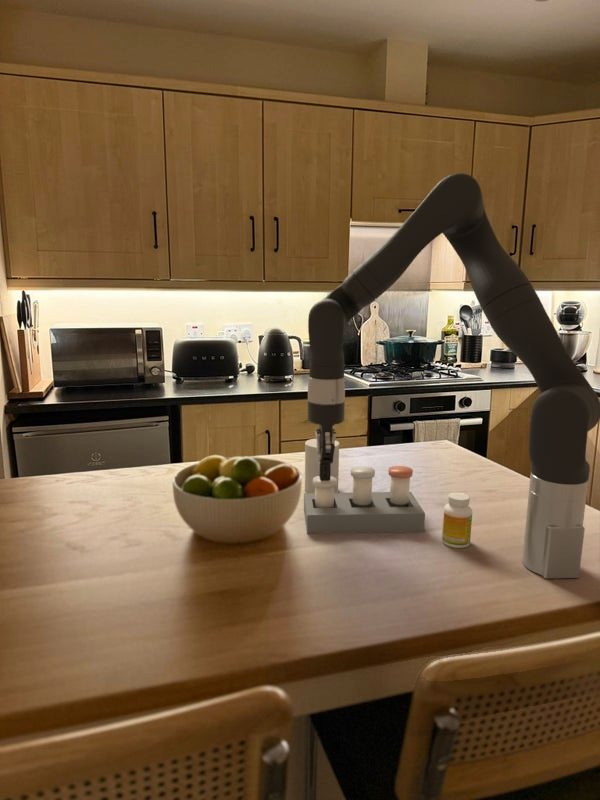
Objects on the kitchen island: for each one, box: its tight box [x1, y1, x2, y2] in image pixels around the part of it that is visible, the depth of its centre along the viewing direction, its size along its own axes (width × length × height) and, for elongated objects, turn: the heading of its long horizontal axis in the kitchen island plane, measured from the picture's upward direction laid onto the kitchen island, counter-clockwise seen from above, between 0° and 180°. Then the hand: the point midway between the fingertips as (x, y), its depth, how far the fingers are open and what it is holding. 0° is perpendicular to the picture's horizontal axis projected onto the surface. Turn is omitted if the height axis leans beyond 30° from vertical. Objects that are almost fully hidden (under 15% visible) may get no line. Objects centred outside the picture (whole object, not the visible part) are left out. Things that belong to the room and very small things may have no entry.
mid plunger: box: [350, 465, 376, 505], centre depth 121 cm, size 5×5×7 cm
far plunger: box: [313, 476, 337, 508], centre depth 121 cm, size 5×5×7 cm
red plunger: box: [388, 465, 414, 505], centre depth 121 cm, size 5×5×7 cm
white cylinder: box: [304, 438, 340, 493], centre depth 139 cm, size 8×8×12 cm
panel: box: [303, 491, 426, 535], centre depth 122 cm, size 12×24×4 cm, turn 93°
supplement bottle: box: [441, 492, 473, 549], centre depth 112 cm, size 5×5×10 cm
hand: (324, 479), depth 120 cm, fingers closed
